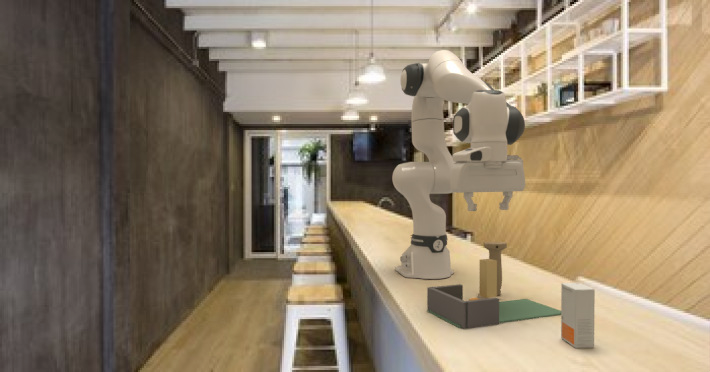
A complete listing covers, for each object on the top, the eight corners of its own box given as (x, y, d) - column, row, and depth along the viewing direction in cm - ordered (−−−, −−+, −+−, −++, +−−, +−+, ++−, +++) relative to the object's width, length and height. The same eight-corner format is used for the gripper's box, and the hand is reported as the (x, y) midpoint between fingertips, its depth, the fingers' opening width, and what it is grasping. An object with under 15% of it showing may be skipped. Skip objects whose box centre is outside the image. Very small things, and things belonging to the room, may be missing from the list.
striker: (475, 307, 129) (476, 258, 129) (485, 306, 130) (485, 257, 130) (490, 314, 123) (490, 262, 123) (500, 312, 124) (500, 261, 124)
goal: (427, 310, 130) (427, 287, 130) (460, 306, 133) (460, 284, 133) (463, 329, 114) (463, 302, 114) (499, 324, 118) (499, 298, 118)
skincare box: (560, 338, 108) (560, 282, 107) (579, 338, 108) (579, 282, 108) (574, 348, 102) (575, 289, 101) (595, 348, 102) (595, 288, 102)
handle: (508, 296, 144) (508, 244, 144) (485, 296, 144) (485, 244, 144) (504, 292, 149) (504, 241, 148) (482, 292, 149) (482, 241, 149)
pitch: (427, 311, 129) (427, 309, 129) (525, 300, 140) (525, 298, 140) (459, 328, 115) (459, 326, 115) (566, 314, 126) (566, 312, 126)
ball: (461, 308, 126) (467, 293, 127) (473, 314, 127) (479, 299, 128) (470, 312, 122) (476, 297, 123) (482, 318, 124) (488, 302, 124)
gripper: (514, 155, 132) (514, 208, 133) (446, 154, 125) (446, 210, 125) (531, 154, 126) (530, 209, 127) (461, 154, 119) (460, 212, 119)
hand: (488, 210), depth 126 cm, fingers open, 8 cm apart
